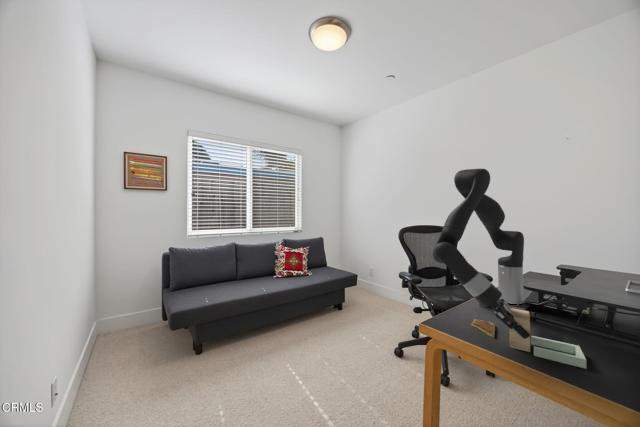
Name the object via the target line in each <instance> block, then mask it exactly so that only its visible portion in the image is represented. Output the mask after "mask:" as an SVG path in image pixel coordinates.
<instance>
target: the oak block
mask: <svg viewBox="0 0 640 427" xmlns="http://www.w3.org/2000/svg"><path fill="white" fill-rule="evenodd" d="M509 311H510V312H511V314H512V315H513V316H514V319H515V320H516V321H517V322H519V324H520V325H521V326H522V327H523V328H524V329H525V330H526V331H527V332H528V333H529V334H530V335H531V315H530V311H528V310H524V309H518V308H512V307H511V309H509ZM509 316H510V315H509ZM509 322H510V323H511V324H512V322H511V321H509ZM509 348H510V349H511V348H512V349H515V350H519V351H523V352H524V351H525V352H528V353H531V336H530V337H528V338H526V339H524V338H523V337H522V336H521V335H519V334H518V333H517V332H516V331H515V330H514V329H510V328H509Z"/></svg>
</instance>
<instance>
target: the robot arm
mask: <svg viewBox="0 0 640 427" xmlns="http://www.w3.org/2000/svg"><path fill="white" fill-rule="evenodd" d="M453 181H454V186H455V187H456V190H457V191H458V192H459V194H460V195H461V196H462V197H463V198H464V200H463V201H462V202H461V203H460V204H459V205H457V206H456V207H455V208H454V209H453V210H452V211H451V212H450V213H449V214H448V215H447V218H446V219H445V222H444V225H443V227H442V229H441V233H440V235H439V237H438V239H437V242H436V243H435V244H434V248H433V250H432V256H433V259H434V260H435V261H436V262H437V263H439V264H444V265H445V266H446V267H447V268H448V269H449V270H450V272H451V275H452V276H453V277H454V278H455V279H456V280H457V282H459V283H460V284H461V285H462V286H463V287H464V288H465V290H466V291H467V292H468V293H469V294H470V295H471V296H472V297H473V298H474V299H475V300H476V301H477V303H479V305H481V306H482V307H483V308H488V307H491V308H492V311H493V312H494V316H495V317H496V318H497V319H499V320H500V322H502V323H503V324H504V325H505V326H506V327H507V328H509V330H510V329H514V330H515V331H516V332H517V333H518V334H519V335H521V336H522V337H523V338H524V339H526V338H528V337H530V338H531V333H530V334H529V333H528V332H527V331H526V330H525V329H524V328H523V327H522V326H521V325H520V324H519V322H517V321H516V320H515V319H514V316H513V315H512V314H511V312H510V311H509V309H511V308H512V307H511V305H509V304H507V303H511V304H521V303H523V304H524V266H523V264H524V248H525V236H524V234H523V233H522V231H519V230H516V231H515V230H503V229H501V226H502V225H503V224H504V221H505V220H506V214H505V212H504V210H503V208H502V207H501V205H500V203H499V202H498V201H496V200H495V199H494V198H493V197H490V196H489V195H487V194H485V193H486V192H487V190H488V189H489V187H490V183H491V173H490V172H489V170H487V169H486V168H471V169H469V168H468V169H462V170H459V171H457V172H455V175H454V178H453ZM474 212H475V214H476V216H477V218H478V219H479V221H480V222H481V224H482V225H483V226H484V228H485V229H486V231H487V233H488V234H489V237H490V238H491V241H492V243H493V246H494V247H496V249H498V250H501V251H509V252H511V254H510V255H507V256H502V257H499V258H497V259H498V260H497V282H498V284H497V287H496V286H495V285H494V284H493V283H492V282H490V280H489V279H488V278H487V277H485V276H484V275H483V274H481V273H480V272H479V271H478V270H477V269H475V267H474V266H473V265H471V264H470V263H469V262H468V261H467V260H466V258H465V257H464V255H463V254H462V253H461V252H460V251H459V250H458V248H457V245H458V243H459V241H461V239H462V238H463V235H464V233H465V230H466V227H467V225H468V223H469V220H470V218H471V216H472V215H473V214H474ZM509 315H510V316H509ZM509 321H511V322H512V324H511V323H510V322H509Z"/></svg>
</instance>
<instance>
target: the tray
mask: <svg viewBox="0 0 640 427" xmlns="http://www.w3.org/2000/svg"><path fill="white" fill-rule="evenodd" d="M531 345H532V346H533V356H534V357H536V358H537V357H538V358H541V359H545V360H549V361H554V362H558V363H560V364H561V363H562V364H565V365H570V366H573V367H579V368H581V369H585V370H587V359H586V357H585V354H584V352H583V351H582V349H581V346H580V345H579V344H577V345H576V344H572V343H567V342H564V341H563V342H562V341H559V340H553V339H549V338H545V337H539V336H535V335H531Z"/></svg>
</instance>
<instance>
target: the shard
mask: <svg viewBox="0 0 640 427" xmlns="http://www.w3.org/2000/svg"><path fill="white" fill-rule="evenodd" d="M470 326H471V327H474V328H476V329H477V330H479V331H481V333H482V332H483V333H484V334H486V335H488V336H490V337H491V338H495V334H496V333H495V331H496V325H495V323H493V322H491V321H488V320H484V319H478V318H474V319H473V321H472V322H471V323H470Z"/></svg>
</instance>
